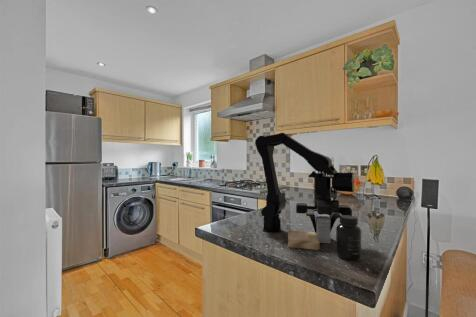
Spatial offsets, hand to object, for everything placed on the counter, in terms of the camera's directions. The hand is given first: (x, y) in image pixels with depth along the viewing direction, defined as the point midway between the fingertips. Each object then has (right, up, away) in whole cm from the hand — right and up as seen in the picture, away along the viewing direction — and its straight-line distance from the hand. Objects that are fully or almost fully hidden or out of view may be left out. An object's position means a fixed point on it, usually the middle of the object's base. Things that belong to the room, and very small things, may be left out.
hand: (322, 232), depth 81 cm
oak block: (-8, -3, -3) cm, 9 cm away
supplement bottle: (+3, -3, -14) cm, 15 cm away
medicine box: (0, -3, 0) cm, 3 cm away
